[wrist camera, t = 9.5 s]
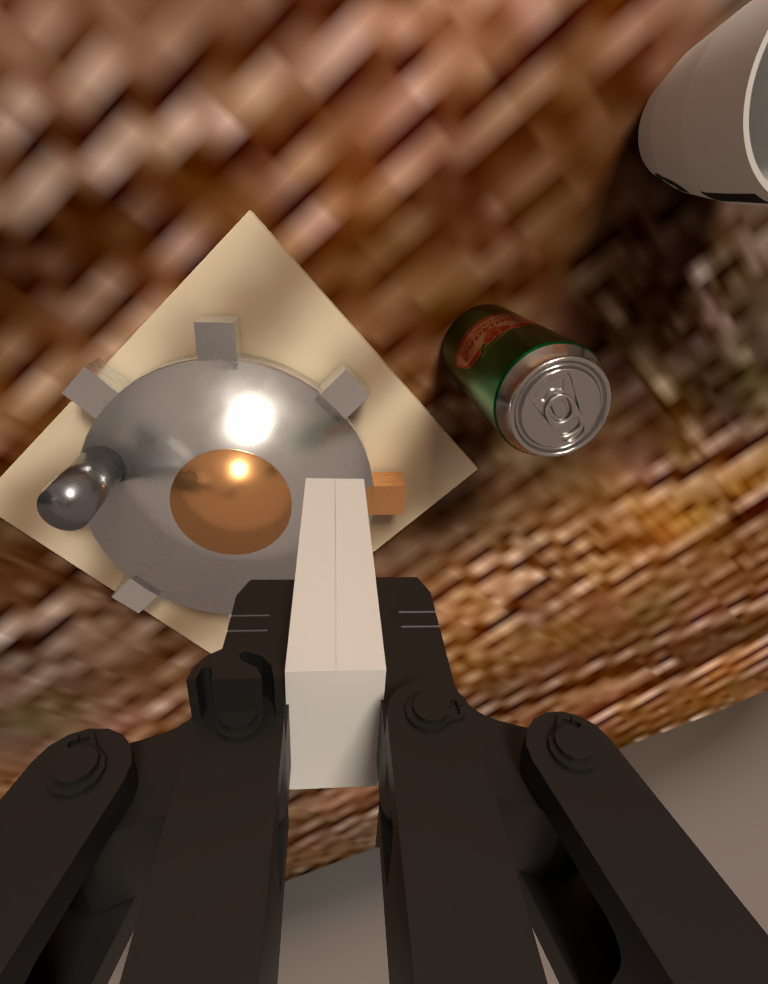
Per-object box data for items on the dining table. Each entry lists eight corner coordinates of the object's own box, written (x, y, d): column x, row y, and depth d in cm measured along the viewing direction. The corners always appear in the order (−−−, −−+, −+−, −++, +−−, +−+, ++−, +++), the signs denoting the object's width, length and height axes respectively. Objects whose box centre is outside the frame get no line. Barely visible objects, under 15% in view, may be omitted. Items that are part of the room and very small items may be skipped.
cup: (608, 225, 30) (730, 228, 21) (610, 44, 26) (761, -45, 17) (747, 194, 30) (928, 184, 21) (770, 9, 26) (1002, -98, 17)
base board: (-14, 494, 33) (-26, 504, 32) (251, 210, 27) (248, 210, 26) (232, 656, 41) (229, 668, 40) (473, 463, 36) (479, 471, 35)
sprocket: (96, 622, 37) (52, 704, 30) (12, 310, 27) (-77, 337, 21) (392, 610, 39) (406, 684, 33) (410, 320, 30) (434, 347, 23)
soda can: (498, 284, 31) (594, 320, 20) (535, 356, 33) (638, 422, 22) (425, 335, 31) (479, 394, 21) (465, 402, 34) (533, 486, 23)
